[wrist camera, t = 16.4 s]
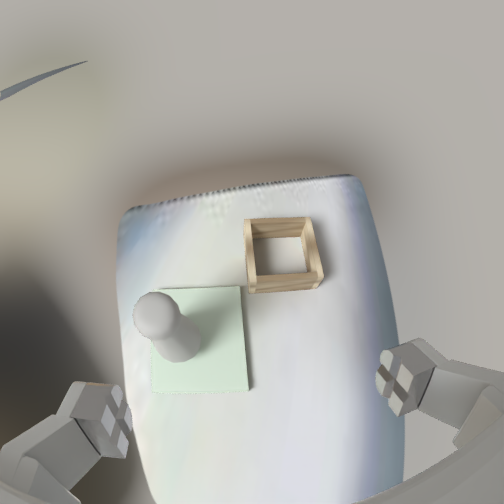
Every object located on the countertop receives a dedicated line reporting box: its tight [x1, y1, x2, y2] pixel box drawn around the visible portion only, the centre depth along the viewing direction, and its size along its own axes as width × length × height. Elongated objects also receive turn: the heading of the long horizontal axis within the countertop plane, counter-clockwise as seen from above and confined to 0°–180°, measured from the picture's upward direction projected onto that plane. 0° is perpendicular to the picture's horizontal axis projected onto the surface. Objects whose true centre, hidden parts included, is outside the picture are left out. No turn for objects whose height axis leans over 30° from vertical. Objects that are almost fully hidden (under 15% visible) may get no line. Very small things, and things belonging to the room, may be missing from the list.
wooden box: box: [244, 217, 324, 294], centre depth 39 cm, size 10×10×4 cm
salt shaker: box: [133, 292, 202, 363], centre depth 27 cm, size 6×6×13 cm
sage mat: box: [151, 286, 249, 394], centre depth 34 cm, size 14×12×1 cm
